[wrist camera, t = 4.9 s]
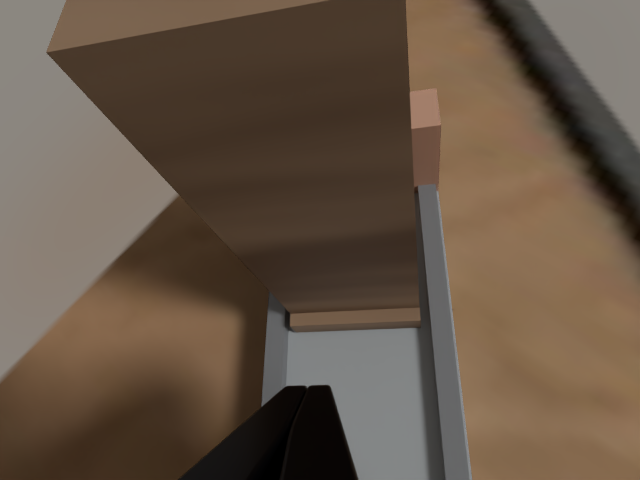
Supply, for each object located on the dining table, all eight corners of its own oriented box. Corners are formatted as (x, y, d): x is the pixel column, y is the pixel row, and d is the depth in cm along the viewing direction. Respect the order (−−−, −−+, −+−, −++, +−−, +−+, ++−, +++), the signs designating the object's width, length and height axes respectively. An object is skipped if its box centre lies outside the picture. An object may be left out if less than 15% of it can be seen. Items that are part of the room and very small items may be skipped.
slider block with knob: (420, 327, 14) (403, -77, 3) (296, 332, 15) (-30, 15, 4) (409, 195, 16) (377, -309, 6) (301, 205, 17) (91, -219, 6)
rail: (480, 584, 12) (509, 652, 8) (266, 570, 13) (191, 622, 9) (433, 176, 18) (436, 88, 13) (286, 191, 19) (246, 114, 15)
